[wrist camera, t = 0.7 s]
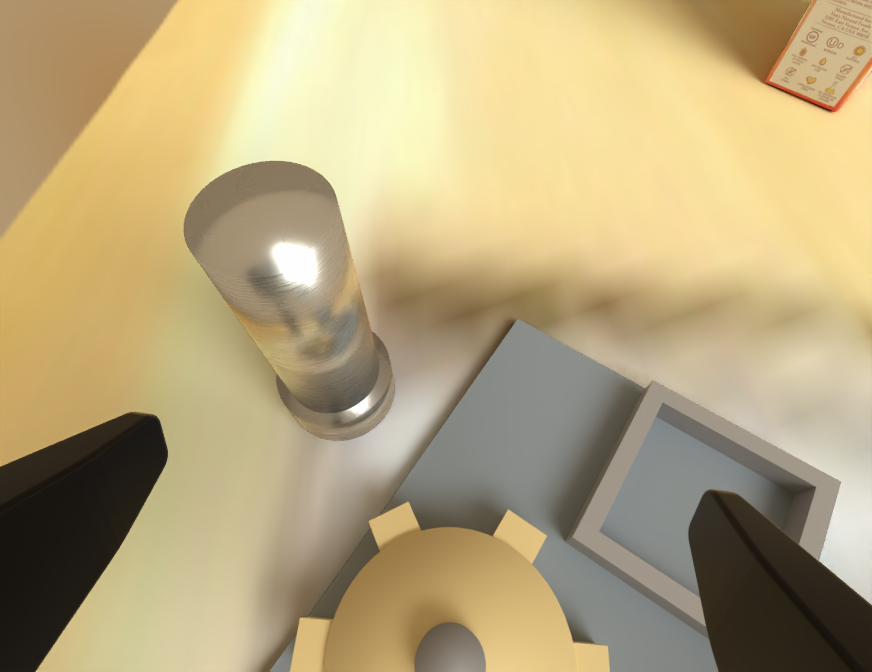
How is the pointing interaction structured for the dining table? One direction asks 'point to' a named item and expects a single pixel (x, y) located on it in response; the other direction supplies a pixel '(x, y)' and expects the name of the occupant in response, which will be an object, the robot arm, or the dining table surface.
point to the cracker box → (827, 53)
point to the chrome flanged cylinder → (295, 292)
